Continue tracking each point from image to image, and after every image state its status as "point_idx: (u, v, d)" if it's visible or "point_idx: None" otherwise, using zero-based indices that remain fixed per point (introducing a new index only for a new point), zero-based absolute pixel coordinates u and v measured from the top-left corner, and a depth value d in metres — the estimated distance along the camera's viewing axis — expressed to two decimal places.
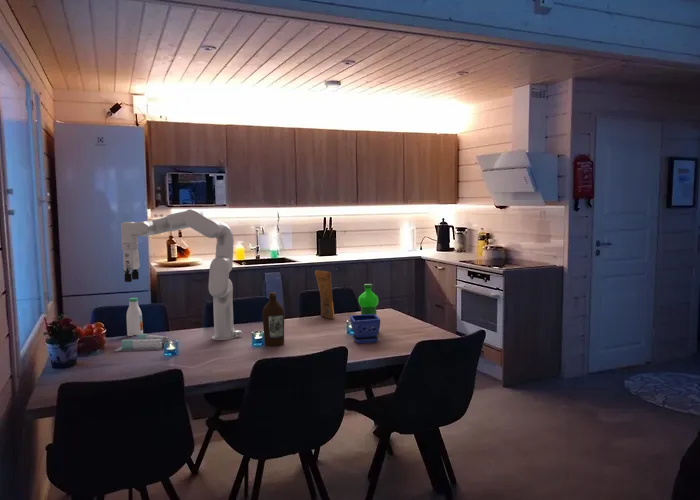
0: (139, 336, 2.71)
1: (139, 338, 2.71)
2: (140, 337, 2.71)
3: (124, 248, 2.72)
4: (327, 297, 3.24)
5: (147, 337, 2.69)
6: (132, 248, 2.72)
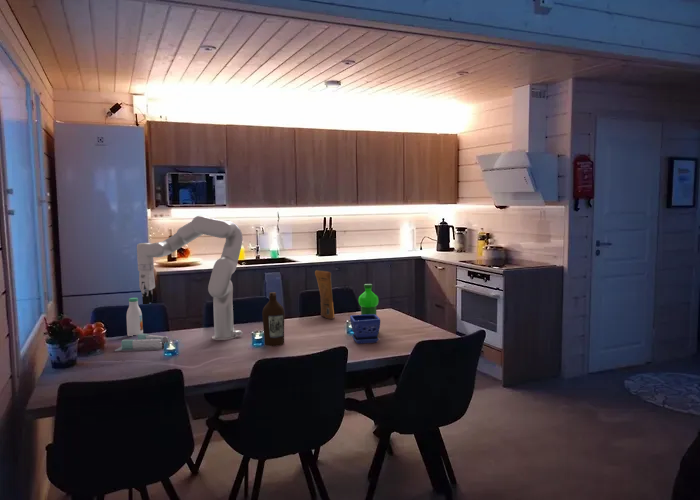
0: (139, 336, 2.71)
1: (139, 338, 2.71)
2: (140, 337, 2.71)
3: (140, 269, 2.74)
4: (327, 297, 3.24)
5: (147, 337, 2.69)
6: (148, 269, 2.74)
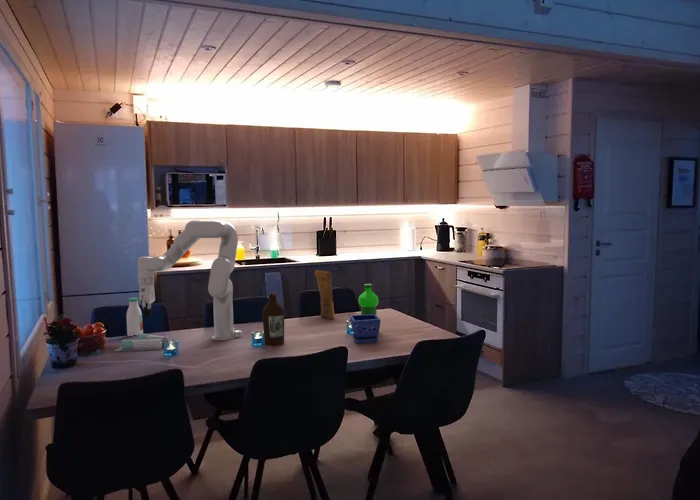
0: (139, 336, 2.71)
1: (139, 338, 2.71)
2: (140, 337, 2.71)
3: (140, 283, 2.74)
4: (327, 297, 3.24)
5: (147, 337, 2.69)
6: (148, 283, 2.75)
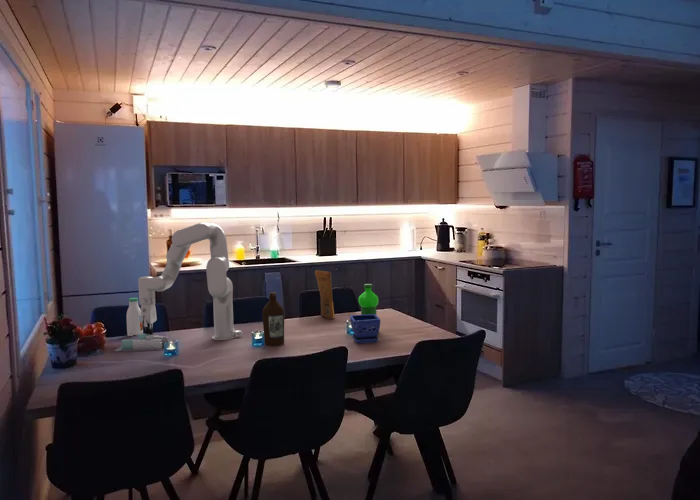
0: (139, 336, 2.71)
1: (139, 338, 2.71)
2: (140, 337, 2.71)
3: (141, 303, 2.75)
4: (327, 297, 3.24)
5: (147, 337, 2.69)
6: (149, 303, 2.75)
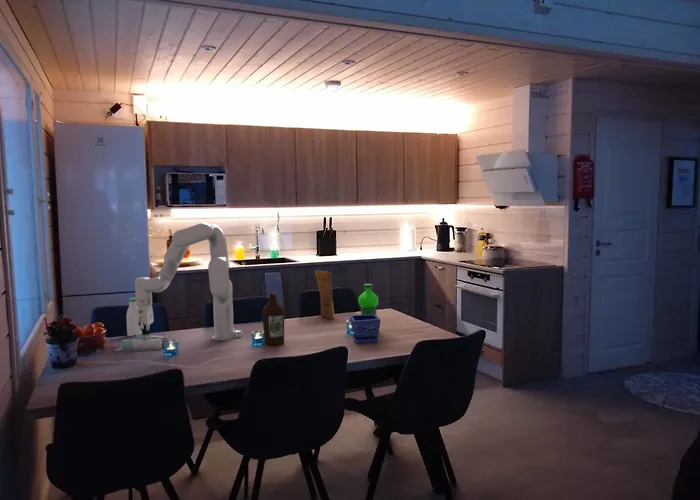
0: (138, 336, 2.70)
1: (138, 338, 2.70)
2: (139, 337, 2.70)
3: (138, 304, 2.70)
4: (327, 297, 3.24)
5: (146, 337, 2.68)
6: (146, 304, 2.71)
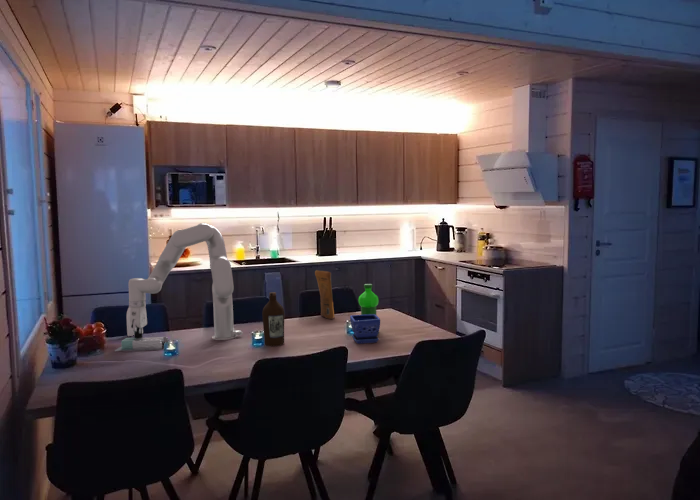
0: None
1: None
2: None
3: (131, 306, 2.63)
4: (327, 297, 3.24)
5: None
6: (139, 306, 2.63)
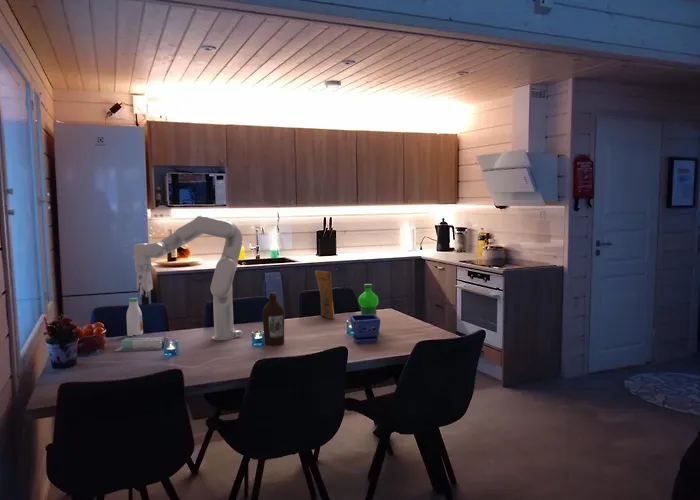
0: None
1: None
2: None
3: (137, 270, 2.69)
4: (327, 297, 3.24)
5: None
6: (145, 270, 2.70)
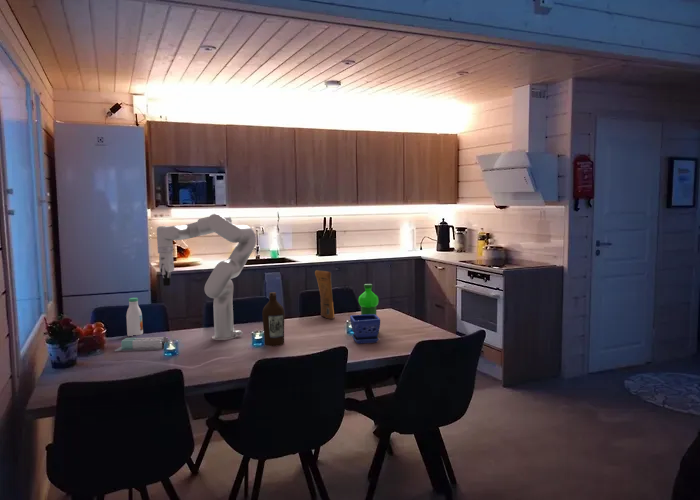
0: None
1: None
2: None
3: (160, 251, 2.80)
4: (327, 297, 3.24)
5: None
6: (167, 251, 2.81)
